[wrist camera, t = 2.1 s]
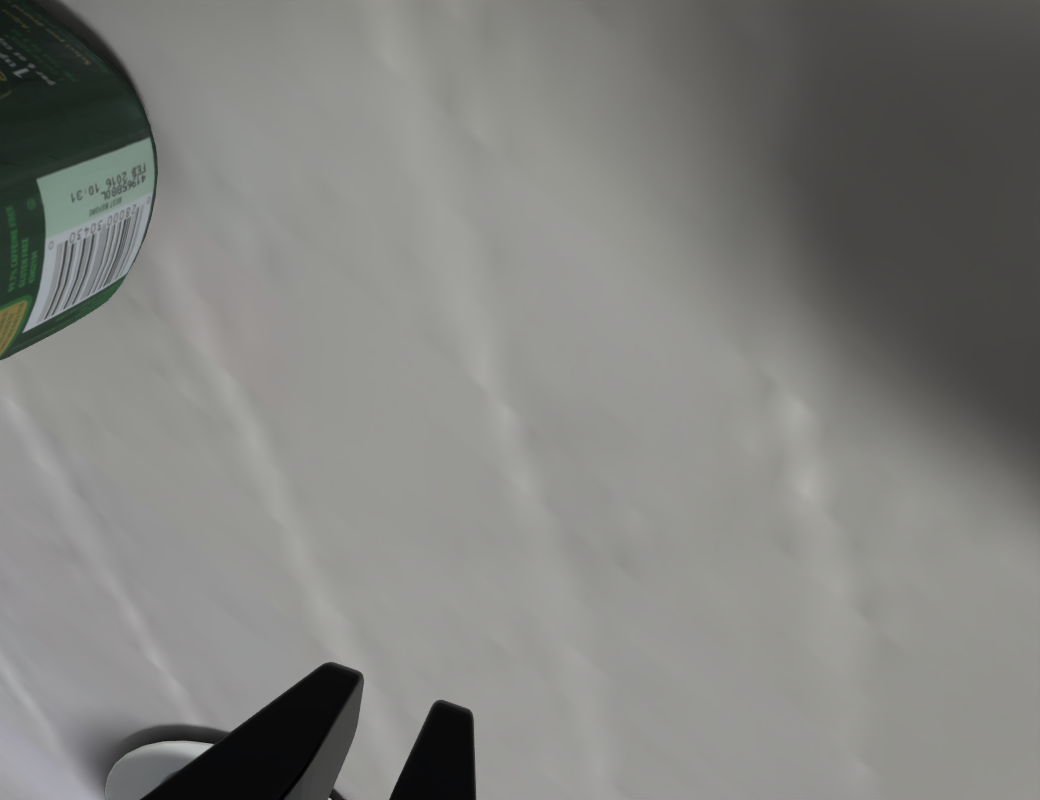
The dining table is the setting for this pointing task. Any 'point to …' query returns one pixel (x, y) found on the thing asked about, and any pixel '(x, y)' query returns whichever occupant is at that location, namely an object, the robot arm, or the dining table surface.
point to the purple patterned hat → (149, 768)
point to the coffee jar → (65, 176)
